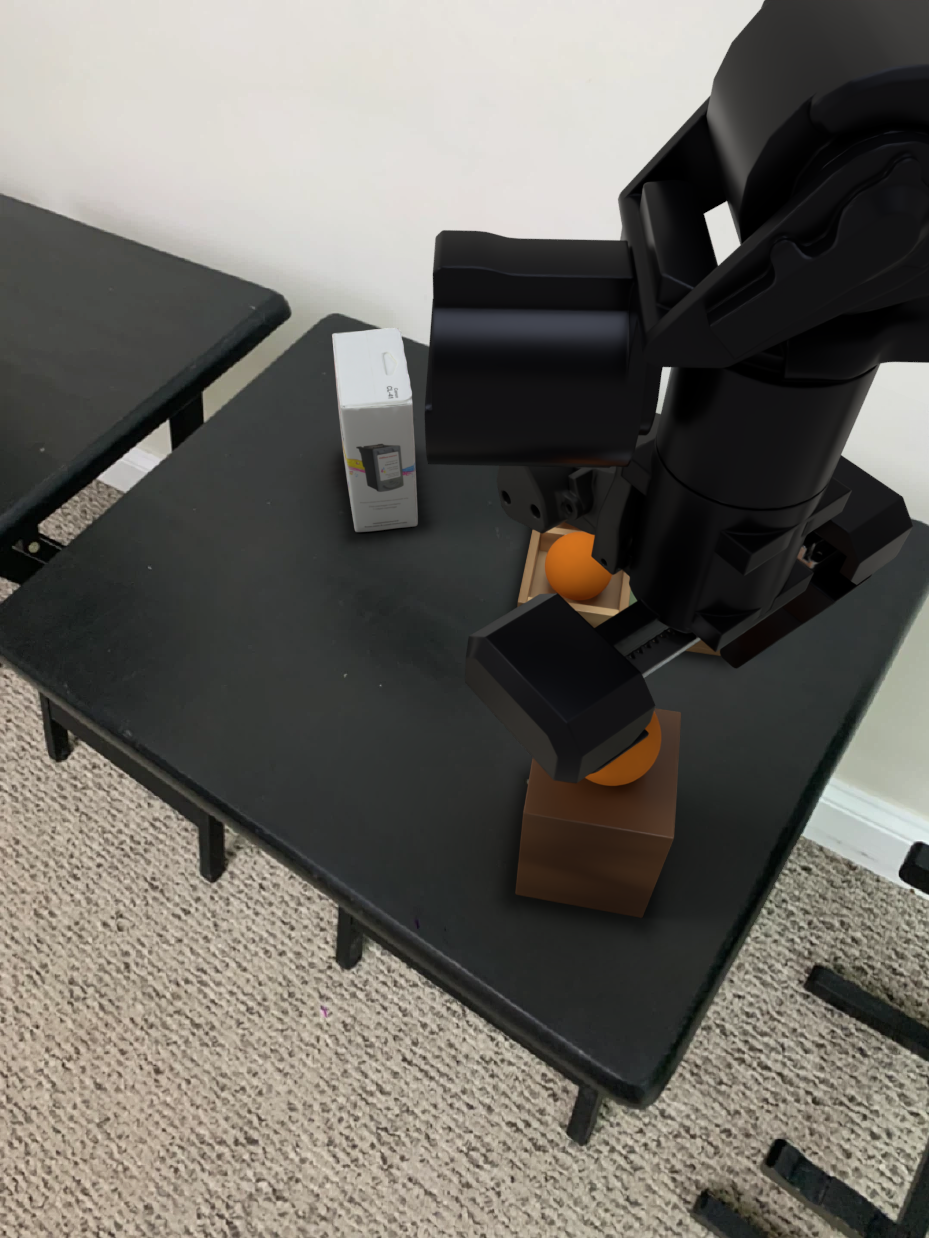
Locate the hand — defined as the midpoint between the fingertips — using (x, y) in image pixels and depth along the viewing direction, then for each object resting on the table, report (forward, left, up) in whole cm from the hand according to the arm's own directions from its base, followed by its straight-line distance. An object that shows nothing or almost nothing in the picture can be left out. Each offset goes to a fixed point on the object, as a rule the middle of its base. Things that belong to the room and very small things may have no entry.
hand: (660, 709), depth 42 cm
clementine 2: (+2, +1, -4) cm, 4 cm away
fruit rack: (+1, -21, -14) cm, 25 cm away
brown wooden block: (+2, +1, -14) cm, 14 cm away
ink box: (+20, -25, -14) cm, 35 cm away
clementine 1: (+5, -18, -13) cm, 23 cm away
